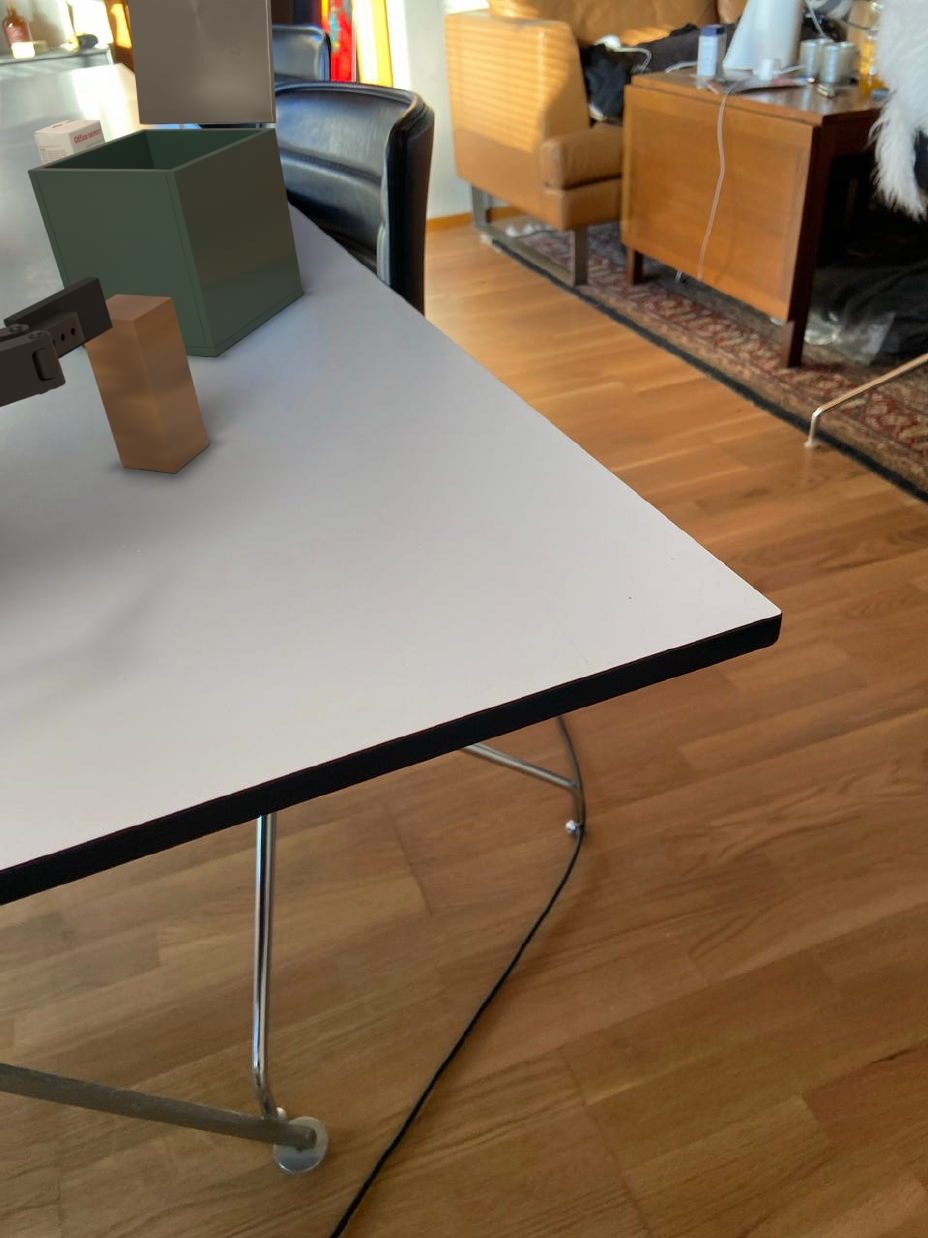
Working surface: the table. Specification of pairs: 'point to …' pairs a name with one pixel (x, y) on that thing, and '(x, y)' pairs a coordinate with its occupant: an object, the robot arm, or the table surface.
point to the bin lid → (203, 61)
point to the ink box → (68, 138)
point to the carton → (147, 384)
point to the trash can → (178, 226)
